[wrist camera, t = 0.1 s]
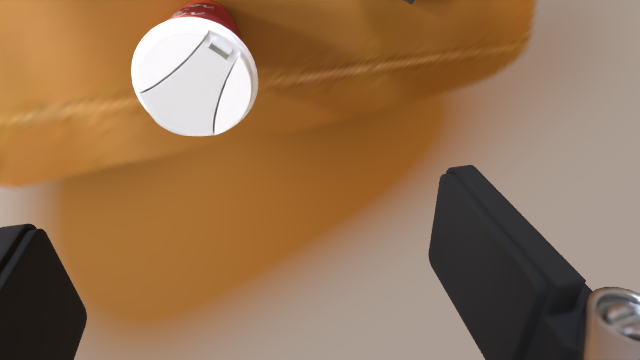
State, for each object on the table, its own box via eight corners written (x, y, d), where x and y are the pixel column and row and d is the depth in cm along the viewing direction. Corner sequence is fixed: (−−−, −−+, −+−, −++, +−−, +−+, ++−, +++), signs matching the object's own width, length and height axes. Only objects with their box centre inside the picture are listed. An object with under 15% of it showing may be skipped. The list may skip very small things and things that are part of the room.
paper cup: (188, -36, 33) (167, -9, 22) (266, 23, 37) (283, 72, 26) (142, 44, 36) (102, 105, 25) (219, 91, 40) (216, 165, 28)
